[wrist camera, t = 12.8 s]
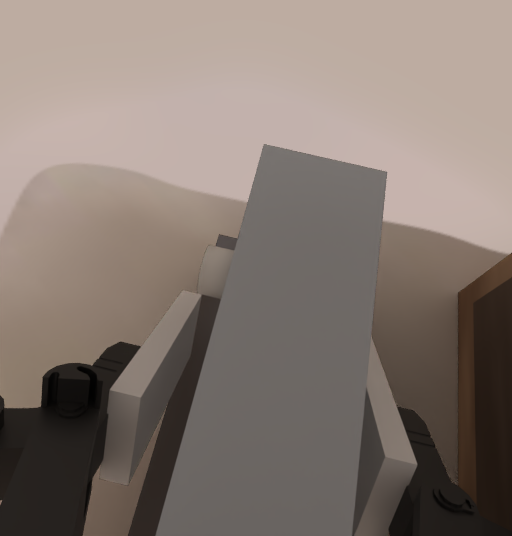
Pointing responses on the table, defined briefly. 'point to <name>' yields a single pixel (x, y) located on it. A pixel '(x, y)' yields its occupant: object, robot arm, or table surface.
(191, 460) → the door
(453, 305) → the table surface
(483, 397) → the cabinet
